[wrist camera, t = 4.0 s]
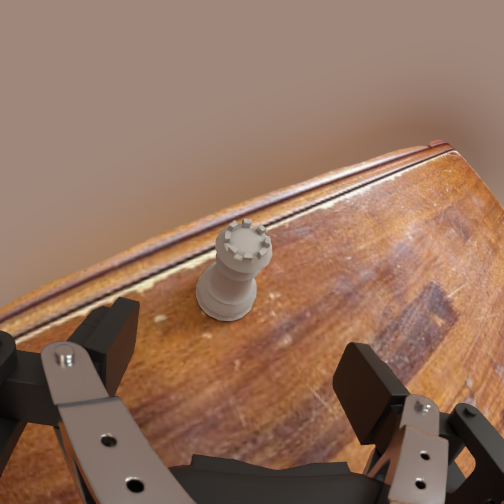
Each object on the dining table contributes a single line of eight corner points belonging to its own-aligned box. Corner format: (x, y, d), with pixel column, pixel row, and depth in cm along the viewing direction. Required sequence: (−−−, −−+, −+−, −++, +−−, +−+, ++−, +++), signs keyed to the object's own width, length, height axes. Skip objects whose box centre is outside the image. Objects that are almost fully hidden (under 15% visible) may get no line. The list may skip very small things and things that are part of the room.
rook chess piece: (232, 260, 25) (257, 195, 18) (264, 305, 24) (303, 253, 17) (184, 284, 23) (191, 221, 16) (215, 334, 22) (236, 290, 15)
